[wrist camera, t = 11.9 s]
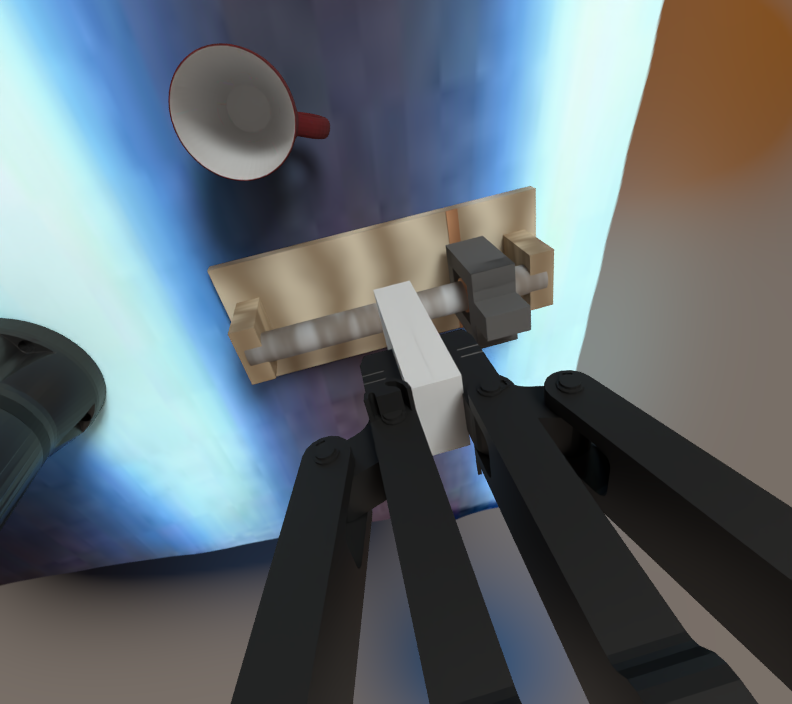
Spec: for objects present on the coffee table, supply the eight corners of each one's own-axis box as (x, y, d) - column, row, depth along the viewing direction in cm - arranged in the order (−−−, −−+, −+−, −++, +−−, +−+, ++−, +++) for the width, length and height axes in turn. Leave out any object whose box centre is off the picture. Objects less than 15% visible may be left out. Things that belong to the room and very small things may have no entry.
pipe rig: (260, 375, 51) (253, 420, 44) (209, 266, 43) (192, 301, 36) (531, 302, 53) (566, 336, 46) (530, 186, 45) (571, 205, 38)
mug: (324, 57, 36) (332, 50, 27) (327, 161, 40) (335, 183, 32) (189, 47, 34) (153, 37, 26) (207, 158, 38) (182, 180, 30)
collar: (454, 312, 48) (489, 366, 39) (445, 245, 44) (483, 288, 35) (487, 303, 49) (531, 355, 39) (482, 235, 44) (530, 276, 35)
